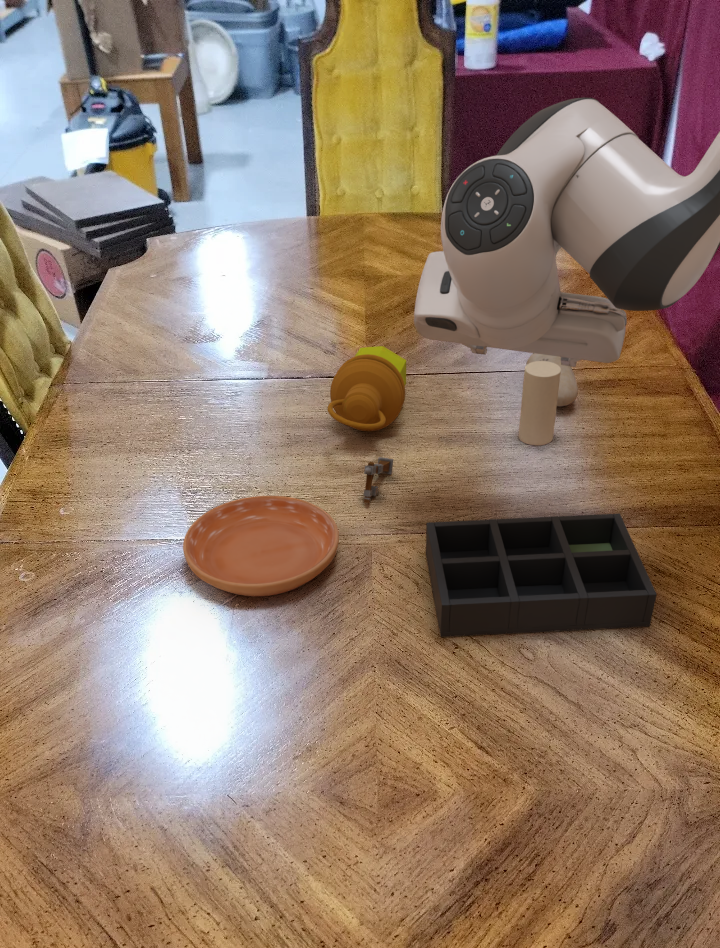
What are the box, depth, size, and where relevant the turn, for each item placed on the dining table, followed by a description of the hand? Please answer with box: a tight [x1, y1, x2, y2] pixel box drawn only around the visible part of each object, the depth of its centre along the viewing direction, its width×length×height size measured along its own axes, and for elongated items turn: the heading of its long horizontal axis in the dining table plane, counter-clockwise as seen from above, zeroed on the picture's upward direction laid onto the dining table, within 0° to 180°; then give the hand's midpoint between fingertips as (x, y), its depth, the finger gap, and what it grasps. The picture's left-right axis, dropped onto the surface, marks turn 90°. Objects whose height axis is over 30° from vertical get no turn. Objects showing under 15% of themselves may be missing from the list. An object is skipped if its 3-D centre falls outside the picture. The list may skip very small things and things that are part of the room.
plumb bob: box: [327, 345, 407, 432], centre depth 123 cm, size 9×9×25 cm
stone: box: [525, 353, 579, 407], centre depth 129 cm, size 6×6×12 cm
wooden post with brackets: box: [363, 456, 394, 504], centre depth 113 cm, size 2×8×4 cm, turn 163°
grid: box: [425, 512, 658, 638], centre depth 98 cm, size 20×14×4 cm
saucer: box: [182, 495, 340, 597], centre depth 103 cm, size 16×16×3 cm
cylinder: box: [518, 361, 561, 446], centre depth 119 cm, size 4×4×9 cm
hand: (525, 353), depth 103 cm, fingers open, 8 cm apart
